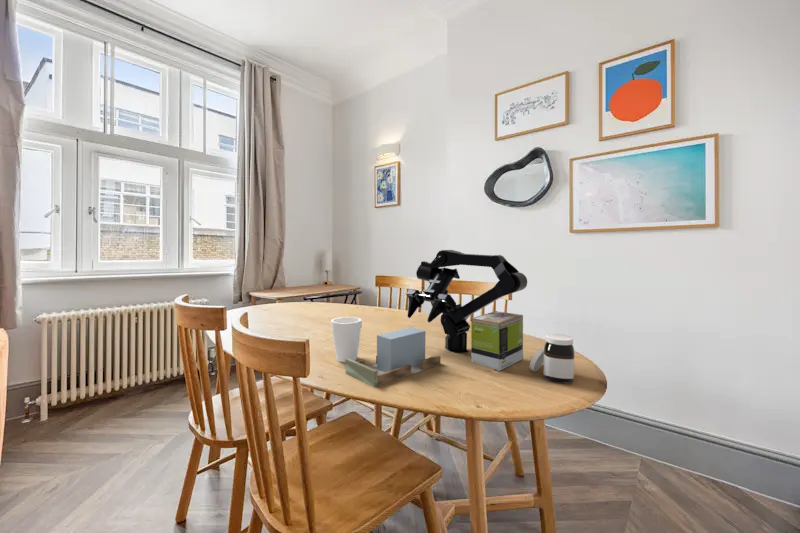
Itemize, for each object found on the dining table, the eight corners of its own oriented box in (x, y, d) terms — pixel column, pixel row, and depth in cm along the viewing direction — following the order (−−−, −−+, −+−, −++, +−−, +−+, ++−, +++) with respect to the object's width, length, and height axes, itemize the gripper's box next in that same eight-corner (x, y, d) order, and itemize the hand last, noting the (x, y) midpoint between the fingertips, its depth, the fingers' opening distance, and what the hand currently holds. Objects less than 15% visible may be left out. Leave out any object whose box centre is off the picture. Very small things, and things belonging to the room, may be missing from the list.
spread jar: (575, 387, 92) (577, 343, 91) (529, 381, 96) (530, 338, 95) (570, 371, 103) (572, 332, 103) (529, 366, 107) (530, 328, 106)
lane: (398, 351, 122) (398, 338, 121) (456, 371, 103) (456, 355, 103) (334, 369, 104) (334, 354, 104) (389, 396, 86) (389, 378, 86)
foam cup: (325, 363, 110) (325, 322, 109) (341, 354, 118) (340, 316, 117) (352, 367, 106) (352, 324, 105) (367, 358, 115) (366, 318, 114)
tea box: (495, 353, 120) (496, 310, 119) (523, 360, 113) (524, 314, 112) (469, 363, 110) (470, 316, 109) (499, 372, 103) (500, 321, 101)
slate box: (411, 358, 113) (411, 327, 112) (425, 363, 108) (425, 330, 108) (376, 369, 103) (376, 335, 102) (390, 374, 99) (390, 339, 98)
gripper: (472, 300, 121) (451, 338, 114) (431, 295, 135) (410, 328, 128) (457, 279, 115) (434, 318, 108) (416, 275, 129) (394, 310, 122)
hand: (418, 319), depth 117 cm, fingers open, 9 cm apart
